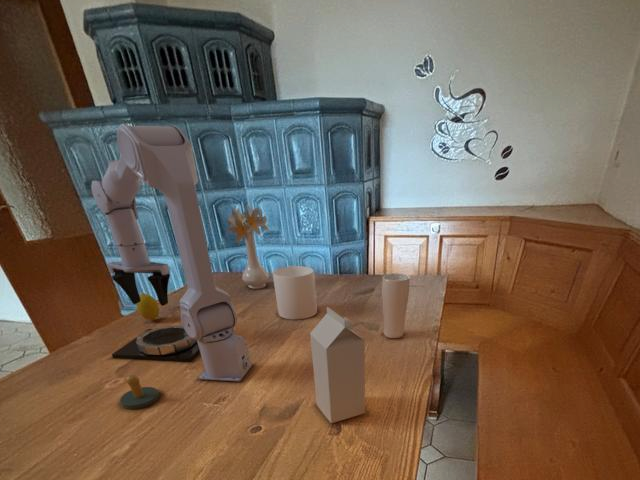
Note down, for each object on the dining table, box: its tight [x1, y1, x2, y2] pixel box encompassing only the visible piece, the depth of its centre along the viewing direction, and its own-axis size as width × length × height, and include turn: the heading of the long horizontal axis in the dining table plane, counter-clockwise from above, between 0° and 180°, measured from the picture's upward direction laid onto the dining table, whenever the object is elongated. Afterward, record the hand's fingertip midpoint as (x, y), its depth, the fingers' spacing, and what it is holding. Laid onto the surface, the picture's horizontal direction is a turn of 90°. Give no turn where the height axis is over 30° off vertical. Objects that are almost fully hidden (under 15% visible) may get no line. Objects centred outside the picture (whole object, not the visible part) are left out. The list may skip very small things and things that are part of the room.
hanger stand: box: [119, 374, 160, 410], centre depth 76 cm, size 7×7×6 cm
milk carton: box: [309, 306, 366, 424], centre depth 68 cm, size 7×7×19 cm
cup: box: [272, 265, 318, 321], centre depth 113 cm, size 12×12×12 cm
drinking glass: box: [381, 272, 411, 339], centre depth 98 cm, size 7×7×15 cm
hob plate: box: [111, 328, 201, 363], centre depth 98 cm, size 20×16×1 cm
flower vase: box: [226, 204, 270, 290], centre depth 130 cm, size 13×18×25 cm
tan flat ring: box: [136, 324, 197, 355], centre depth 96 cm, size 13×13×2 cm
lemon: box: [135, 292, 160, 322], centre depth 110 cm, size 6×6×8 cm
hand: (150, 303), depth 95 cm, fingers open, 7 cm apart
